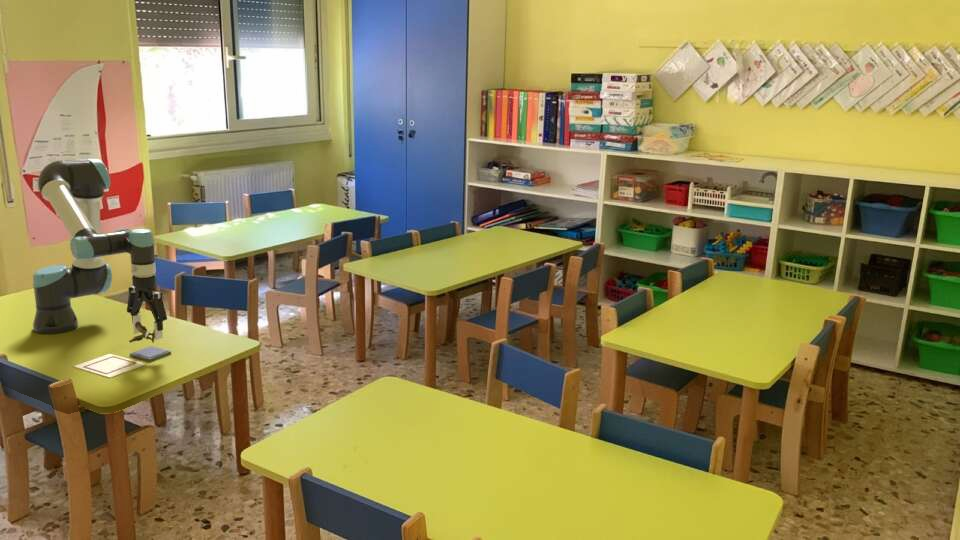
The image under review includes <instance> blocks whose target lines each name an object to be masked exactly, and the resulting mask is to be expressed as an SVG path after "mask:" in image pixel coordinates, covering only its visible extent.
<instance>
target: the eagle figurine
mask: <svg viewBox="0 0 960 540" xmlns="http://www.w3.org/2000/svg"><path fill="white" fill-rule="evenodd" d="M135 327H136V329H137V330H138V331H139V332H140V333H141V334H140V335H136V336H133V338H131V339H130V340H128V342H129V343H133V342H139V341H142V340H143V339H145V340H147V341H148V340H150V341H151V342H152V343H153V344H154V342H155V333H154V330H153V331H152V333H150V330H148V328H147V327H146V326H145V325H142V322H141V323H140V322H136V324H135ZM150 336H152V337H150Z"/></svg>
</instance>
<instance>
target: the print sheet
mask: <svg viewBox="0 0 960 540" xmlns="http://www.w3.org/2000/svg"><path fill="white" fill-rule="evenodd" d="M146 365H147V363H144V362H141V361H136V360H134V359H130V358H127V357H123V356H121V355H115V354H112V353H108V354H105V355H101V356H100V357H99V356H98V357H96V358H93V359H91V360H88V361H85V362H82V363H80V364H76V365H74V366H73V368H75V369H79V370H82V371H86V372H88V373H92V374H95V375H98V376H102V377H105V378H108V379H111V378H115V377H117V376H119V375H122V374H125V373H128V372H130V371H133V370H135V369H138V368H141V367H143V366H146Z"/></svg>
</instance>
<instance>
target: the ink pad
mask: <svg viewBox="0 0 960 540" xmlns="http://www.w3.org/2000/svg"><path fill="white" fill-rule="evenodd" d="M169 355H172V352H171V350H168V349H165V348H160V347H158V346H153V345H150V346H146V347H144V348H140V349H138V350H136V351H133V352H130V353H129V357H132V358H136V359H139V360H143V361H145V362H153V361H156V360H158V359H161V358H163V357H166V356H169Z"/></svg>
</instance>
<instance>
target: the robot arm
mask: <svg viewBox="0 0 960 540" xmlns="http://www.w3.org/2000/svg"><path fill="white" fill-rule="evenodd" d="M110 186H111V178H110V172H109V170H108V169H107V166H106V165H105V163H104V162H103V161H102V160H101V159H98V158H88V157H87V158H81V159H67V160H55V161H52V162H50V163H48V164H46V166H44V168H42V170H41V171H40V173H39V175H38V178H37V187H38V190H39V193H40V195H41V196H42V198H43V199H44V200H45V201H47V202H49V203H50V205H51V206H52V208H53V210H54V212H55V213H56V215H57V216H58V217H59V219H60V221H61V222H62V224H63V226H64V227H65V229H66V230H67V233H68V234H69V235H70V237H71V239H70V244H69V248H70V251H71V254H72V256H73V257H74V258H73V260H72V261H71V267H67V266H66V265H64V264H57V265H50V266H49V265H48V266H45V267H42V268H39V269H38V270H36V271H35V272H34V273H33V275H32V286H33V293H34V299H35V307H36V310H35V315H34V319H33V323H32V328H33V329H32V330H33V332H35V333H37V334H43V335H44V334H45V335H49V334H50V335H51V334H61V333H65V332H69V331H72V330H74V329H76V328H78V326H79V321H78V318H77V316H76V314H75V312H74V310H73V307H72V302H71V299H76V298H80V297H87V296H92V295H95V296H96V295H99V294H101V293H106V292H107V291H108V290H110V288H111V286H112V282H113V273H112V268H111V266H110V265H109V264H108V263H107V262H106V259H104V258H103V257H106V256H113V255H121V254H126V253H127V254H129V255H130V263H131V264H130V265H131V274H132V277H131V279H132V286H129V287H128V297H127V298H128V300H127V306H126V307H127V308H126V312H127V313H129V314H130V316H131V319H132V320H131V321H132V327H133V334H134V335H136V334H139V333H141V332H139V331H138V330H137V329H136V327H135V324H136V322H140V323H141V324H142V317H141V314H140V312H141V311H140V310H141V308H142V306H143V302H145V303H146V305H148V307H149V310H150V312H151V314H152V316H153V319H154V321H153V331H154V333H155V338H154V341H158V340H161V339H163V338H164V334H163V333H164V332H163V330H164V325H163V323H164V321H167V320H168V316H167V313H166V309H165V308H166V307H165V306H164V305H165V304H164V301H163V294H162V292H161V291H159V292H157V291H156V289H155V287H156V285H157V275H156V273H157V271H156V270H157V268H156V260H155V259H156V258H155V238H154V233H153V231H152V230H150V229H148V228H135V229H129V228H119V229H117V230H116V231H115V232H114V231H113V232H107V233H101V199H102V198H103V197H104V196H105V191H106V190H108V189H109V188H110Z"/></svg>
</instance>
